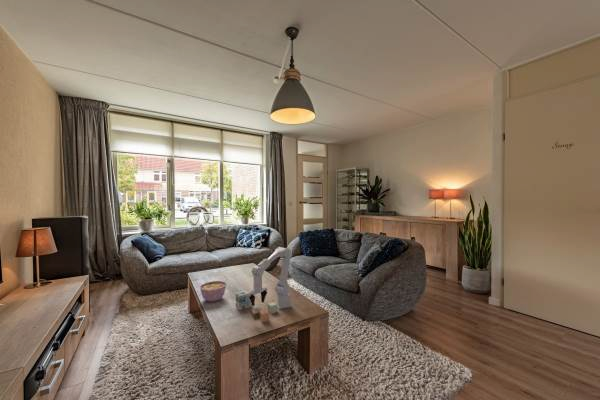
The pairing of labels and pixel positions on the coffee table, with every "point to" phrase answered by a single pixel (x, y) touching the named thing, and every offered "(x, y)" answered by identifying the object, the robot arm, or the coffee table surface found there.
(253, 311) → the walnut base
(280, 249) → the robot arm
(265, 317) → the terracotta cube
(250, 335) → the coffee table surface
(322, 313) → the coffee table surface
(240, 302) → the light bulb box
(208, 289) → the bowl of food
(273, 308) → the sage cube
